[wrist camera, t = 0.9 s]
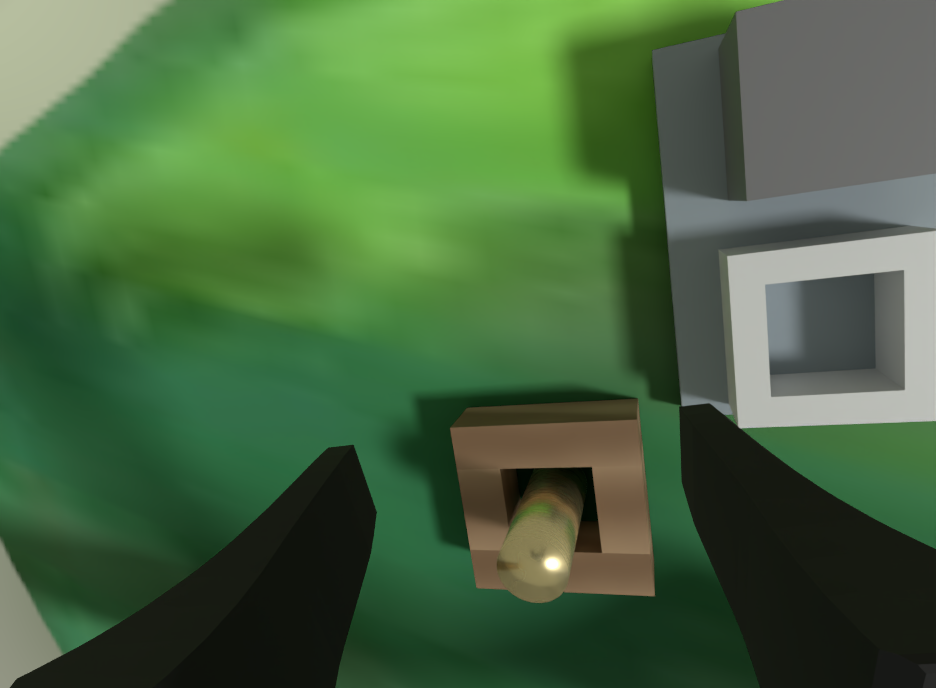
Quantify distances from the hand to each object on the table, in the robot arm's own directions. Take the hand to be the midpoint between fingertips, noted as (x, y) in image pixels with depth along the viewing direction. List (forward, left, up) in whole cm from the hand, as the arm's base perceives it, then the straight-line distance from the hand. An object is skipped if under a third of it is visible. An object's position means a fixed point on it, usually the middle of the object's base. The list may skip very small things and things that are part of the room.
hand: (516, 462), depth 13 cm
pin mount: (-9, +3, -17) cm, 20 cm away
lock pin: (-9, +3, -17) cm, 20 cm away
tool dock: (+3, -9, -17) cm, 20 cm away
